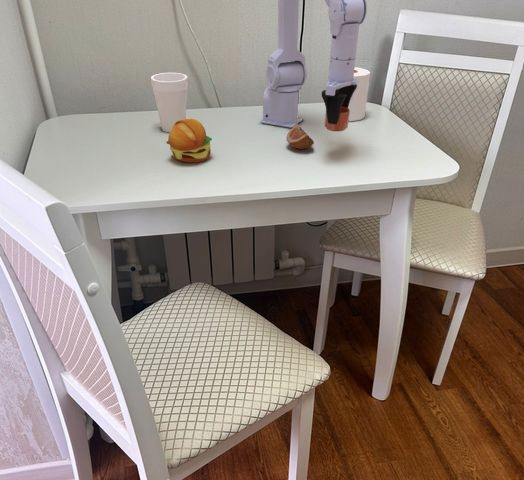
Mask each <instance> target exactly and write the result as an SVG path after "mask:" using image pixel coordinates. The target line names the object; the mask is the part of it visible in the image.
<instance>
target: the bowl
mask: <svg viewBox="0 0 524 480" xmlns="http://www.w3.org/2000/svg"><path fill="white" fill-rule="evenodd" d="M349 113H350V110H349V109H348V108H346V107H343V106H342V107H341V110H340V115H339V119H338V122H337V124H336V125H335V124H329V123H328V120H327V112H326V111H325V117H324V127H325V128H326V129H327V130H328V131H331V132H344V131H346V129H348V128H349V122H350V121H349Z"/></svg>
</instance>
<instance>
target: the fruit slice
mask: <svg viewBox="0 0 524 480" xmlns="http://www.w3.org/2000/svg"><path fill="white" fill-rule="evenodd" d="M286 142H287V143H288V144H289V145H290V146H291V147H293V148H295V149H299V150H304V149H307V148H310V147H312V146H313V145H314V144H315V142H314V140H313V139H312V138H311V137H310V136H309V134H307V132H305V130H304V129H303V128H302V127H301V126H300V125H299V123H298V124H296V125H295V126H294V127H293V128H290V129H289V131H288V133H287V134H286Z"/></svg>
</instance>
